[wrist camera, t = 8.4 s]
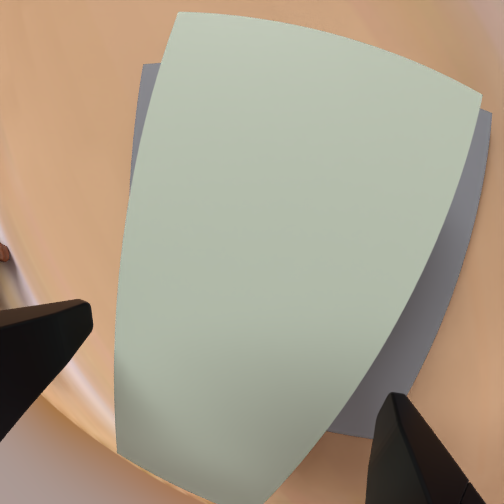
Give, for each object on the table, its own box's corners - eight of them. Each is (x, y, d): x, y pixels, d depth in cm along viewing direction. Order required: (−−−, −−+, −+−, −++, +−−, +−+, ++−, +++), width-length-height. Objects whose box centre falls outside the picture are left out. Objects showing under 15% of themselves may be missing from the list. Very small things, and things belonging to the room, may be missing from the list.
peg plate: (483, 115, 10) (525, 104, 7) (380, 428, 16) (379, 479, 13) (154, 68, 14) (103, 52, 10) (142, 361, 20) (108, 395, 16)
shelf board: (432, 116, 8) (482, 94, 4) (273, 453, 14) (251, 516, 10) (237, 55, 9) (178, 11, 5) (158, 402, 15) (117, 453, 11)
